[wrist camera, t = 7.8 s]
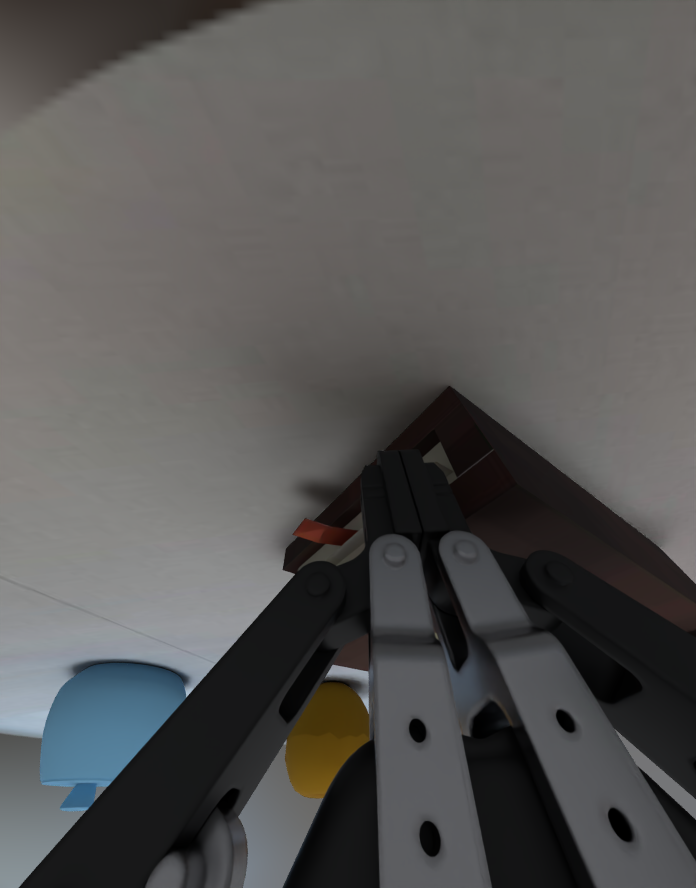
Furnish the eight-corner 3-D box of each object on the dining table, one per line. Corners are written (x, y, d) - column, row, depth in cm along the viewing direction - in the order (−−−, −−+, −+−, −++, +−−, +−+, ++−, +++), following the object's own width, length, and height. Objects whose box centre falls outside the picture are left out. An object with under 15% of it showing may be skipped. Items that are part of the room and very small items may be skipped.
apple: (388, 682, 45) (400, 798, 36) (341, 701, 51) (342, 803, 42) (317, 669, 40) (311, 799, 31) (276, 691, 47) (260, 804, 38)
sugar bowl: (144, 653, 35) (74, 807, 26) (211, 685, 44) (177, 808, 34) (44, 667, 37) (-54, 813, 28) (127, 695, 46) (74, 813, 37)
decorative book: (520, 438, 7) (805, 659, 18) (433, 336, 13) (687, 549, 24) (217, 668, 16) (529, 719, 27) (250, 546, 22) (494, 629, 33)
